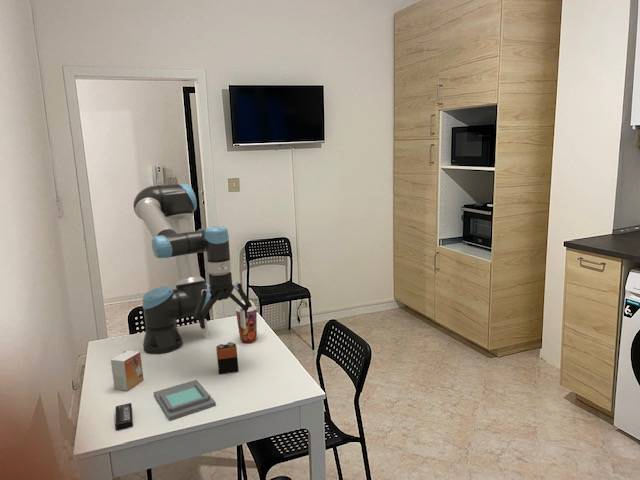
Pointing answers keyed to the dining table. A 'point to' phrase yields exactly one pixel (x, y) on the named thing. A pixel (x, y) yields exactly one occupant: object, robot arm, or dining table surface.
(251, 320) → the smoothie
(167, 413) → the dock
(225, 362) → the battery
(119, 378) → the small box
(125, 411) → the multiport hub
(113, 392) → the dining table surface
